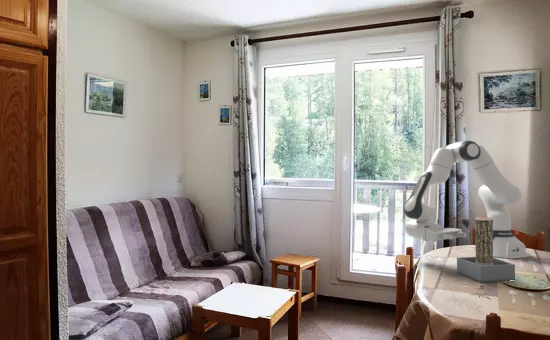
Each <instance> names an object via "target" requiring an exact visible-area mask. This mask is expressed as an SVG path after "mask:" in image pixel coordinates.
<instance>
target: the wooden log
mask: <svg viewBox="0 0 550 340" xmlns="http://www.w3.org/2000/svg"><path fill="white" fill-rule="evenodd" d="M474 223H475V224H474V225H475V226H474V227H475V231H474V232H475V235H474V236H475V237H474V238H475V239H474V241H475V257H476V264H477V265H480V266H487V265H493V258H494V256H493V218H489V217H487V216H477V217H475V219H474Z"/></svg>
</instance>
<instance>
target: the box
mask: <svg viewBox="0 0 550 340" xmlns="http://www.w3.org/2000/svg"><path fill="white" fill-rule="evenodd" d="M456 273H457V274H459V275H461V276H463V277H465V278H467V279H469V280H472V281H475V282H477V283H479V284H490V283H491V284H492V283H506V282H505V281H510V280H515V281H516V265H515V264H513V263H511V262H508V261H505V260H502V259H498V258H497V257H493V265H487V266H480V265H477V264H476V256H464V257H456ZM510 282H511V281H510Z"/></svg>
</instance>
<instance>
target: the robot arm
mask: <svg viewBox="0 0 550 340" xmlns="http://www.w3.org/2000/svg"><path fill="white" fill-rule="evenodd" d="M486 149H487V148H485V147H484V146H483V145H481V144H478V143H477V142H475V141H474V140H473V141H472V140H461V141H456V142H453V143H449V144H446V145H445V146H443V147H438V148H437V149H436V150H435V152H434V153H433V155H432V157H431V160H430V162H429V164H428V167H427V168H426V170H425V171H424V172H422V174H421V175H420V176H419V178H418V180H417V182H416V184H415V185H414V188H413V189H412V192H411V194H410V196H409V197H408V199H407V200H406V202H405V203H404V205H403V212H404V215H405V216H406V217H407V218H409V219H410V220H408V221H407V222H405V225H404V230H405V233H406V234H407V235H408V236H409V237H412V238H415V239H420V240H422V241H426V242H428V241H429V242H435V243H437V242H439V241H442V240H454V239H455V238H467V233H466V232H463V229H460V228H456V227H455V228H453V227H445V228H443V227H442V226H441V225H440V224H439V223H435V222H436V218H437V211H436V209H435V208H434V207H431V206H430V205H429V204H426V203H424V202H423V200H424V197H425V195H426V192H427V190H428V188H429V187H431V186H432V185H441V184H443V183H446V182H447V180H448V179H449V177H450V174H451V171H452V168H453V165H454V163H463V162H464V163H465V162H468V164H469V166H470V168H471V170H472V171H473V173H474V175H475V177H476V178H477V180H478V181H479V182H480V183H482V185H481V186H480V187H479V189H478V190H477V191H478V192H477V194H478V197H479V199H480V200H481V201H482V202H483V205H484V208H485V210H486V217H489V218H493V258H504V259H505V258H506V259H512V260H513V259H521V258H522V259H523V258H530V257H532V254H531V253H529V252H527V247H526V245H525V244H524V243H523V242H522V241H520V240H519V239H518V238H517V237H516V236H515V235H519V231H518V230H512V217H511V216H512V215H511V214H510V213H509V212H508V210H507V208H506V206H510V205H516V204H517V203H519V202H520V201H521V200H522V191H521V189H520V188H519V187H518V186H516V185H514V184H513V183H511V182H510V181H509V180H508V178H506V177H505V175H503V174H502V172H501V171H500V170H499V168H498V167H497V165H496V163H495V161H494V160H493V158H492V156H491V155H490V153H489V151H488V150H486Z"/></svg>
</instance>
